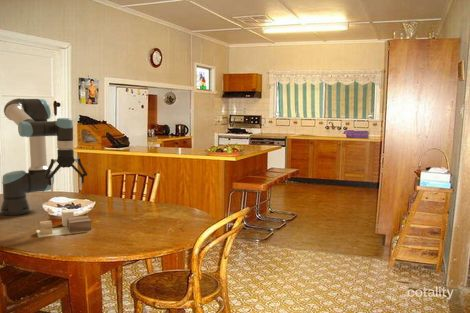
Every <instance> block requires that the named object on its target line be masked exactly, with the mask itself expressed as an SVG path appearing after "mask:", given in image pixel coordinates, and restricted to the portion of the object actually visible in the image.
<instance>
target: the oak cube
mask: <svg viewBox="0 0 470 313" xmlns="http://www.w3.org/2000/svg"><path fill="white" fill-rule="evenodd" d="M52 228H53V221H52V220H44V221H39V230H40V233H41V235H43V234H52V233H53V232H52Z"/></svg>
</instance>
